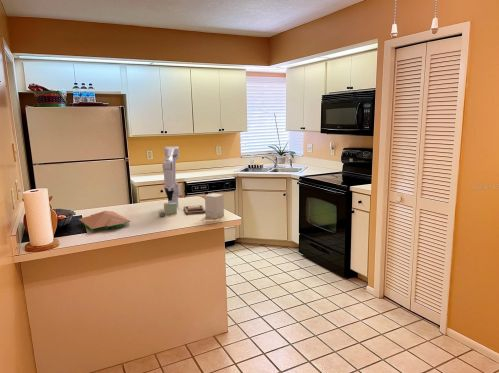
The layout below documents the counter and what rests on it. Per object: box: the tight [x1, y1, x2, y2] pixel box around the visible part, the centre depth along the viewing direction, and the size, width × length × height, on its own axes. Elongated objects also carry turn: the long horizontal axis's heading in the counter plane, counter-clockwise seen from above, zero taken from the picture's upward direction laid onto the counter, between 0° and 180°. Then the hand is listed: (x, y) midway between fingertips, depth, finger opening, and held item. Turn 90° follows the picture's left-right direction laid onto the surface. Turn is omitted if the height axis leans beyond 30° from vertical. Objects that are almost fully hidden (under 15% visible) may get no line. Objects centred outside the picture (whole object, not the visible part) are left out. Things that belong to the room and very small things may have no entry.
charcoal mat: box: [158, 211, 166, 218], centre depth 250 cm, size 10×14×1 cm
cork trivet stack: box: [187, 205, 201, 209], centre depth 258 cm, size 5×9×2 cm, turn 106°
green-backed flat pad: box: [78, 210, 131, 234], centre depth 228 cm, size 23×33×8 cm
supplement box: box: [204, 192, 225, 220], centre depth 241 cm, size 9×9×15 cm
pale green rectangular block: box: [163, 202, 178, 215], centre depth 249 cm, size 4×8×7 cm, turn 106°
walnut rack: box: [183, 204, 206, 216], centre depth 255 cm, size 17×13×2 cm
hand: (169, 199), depth 248 cm, fingers open, 7 cm apart
